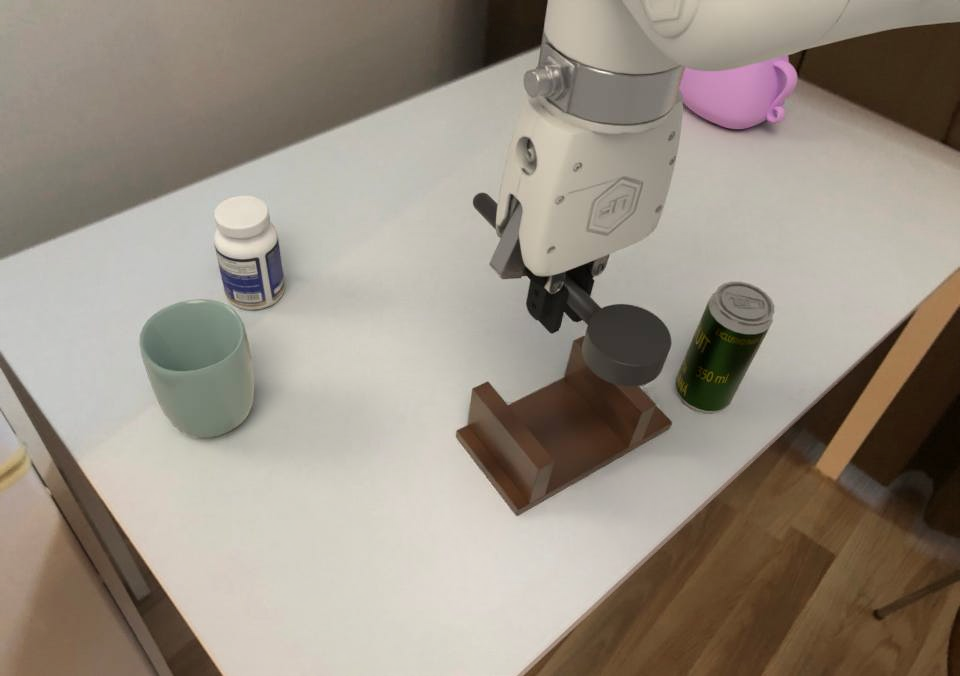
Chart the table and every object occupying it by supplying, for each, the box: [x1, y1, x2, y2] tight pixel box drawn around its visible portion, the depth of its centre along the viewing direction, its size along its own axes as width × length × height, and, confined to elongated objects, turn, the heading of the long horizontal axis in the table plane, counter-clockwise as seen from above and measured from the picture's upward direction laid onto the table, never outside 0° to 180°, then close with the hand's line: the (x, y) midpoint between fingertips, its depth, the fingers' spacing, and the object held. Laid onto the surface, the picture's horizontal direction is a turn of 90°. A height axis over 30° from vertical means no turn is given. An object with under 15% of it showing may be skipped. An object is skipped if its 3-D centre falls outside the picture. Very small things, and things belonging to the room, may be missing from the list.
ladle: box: [472, 192, 672, 387], centre depth 53 cm, size 5×20×2 cm, turn 33°
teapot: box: [679, 55, 798, 130], centre depth 106 cm, size 20×13×12 cm, turn 39°
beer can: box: [674, 281, 775, 414], centre depth 70 cm, size 5×5×12 cm
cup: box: [138, 298, 255, 439], centre depth 64 cm, size 8×8×10 cm
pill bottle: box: [213, 195, 286, 311], centre depth 74 cm, size 6×6×10 cm
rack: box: [455, 334, 673, 517], centre depth 67 cm, size 9×17×6 cm, turn 124°
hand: (554, 313), depth 55 cm, fingers closed on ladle, 1 cm apart
